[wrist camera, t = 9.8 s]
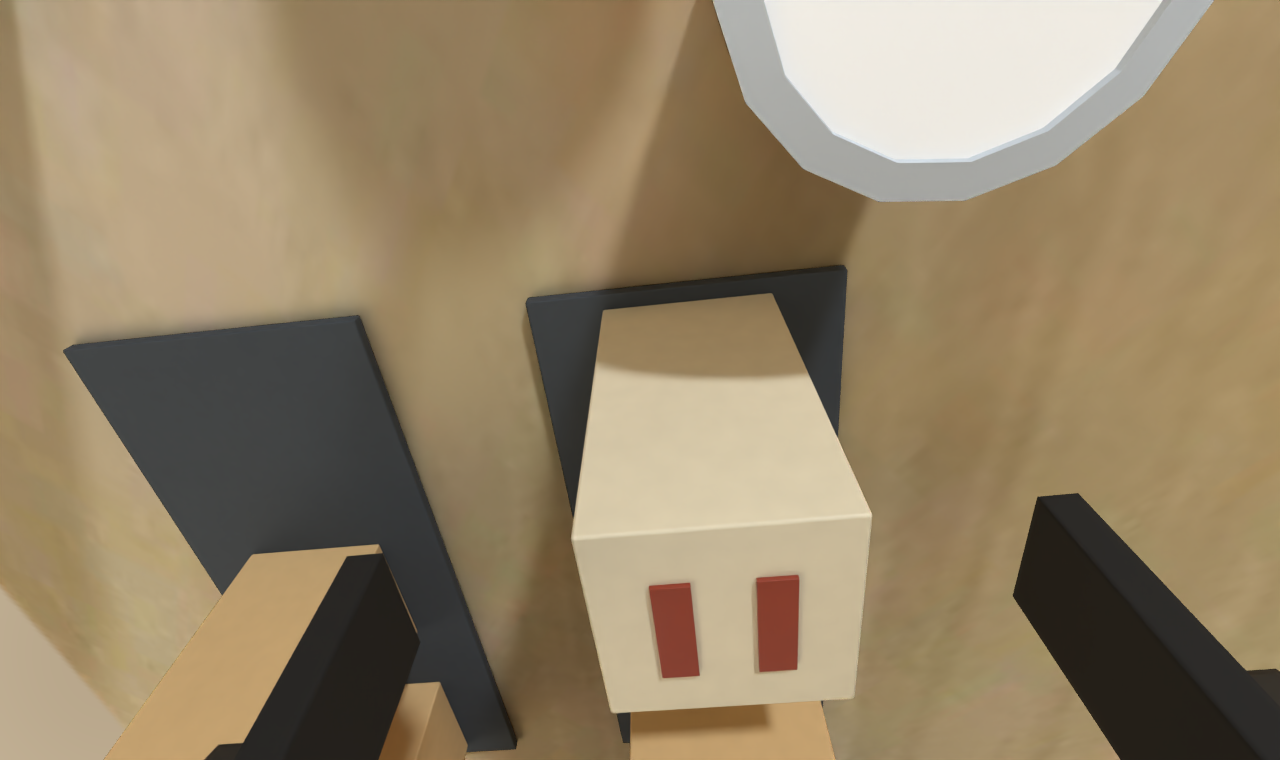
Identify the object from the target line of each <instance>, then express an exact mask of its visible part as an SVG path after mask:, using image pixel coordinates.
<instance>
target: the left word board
mask: <svg viewBox="0 0 1280 760" xmlns="http://www.w3.org/2000/svg"><path fill="white" fill-rule="evenodd" d="M63 352H64V354H65V355H66V357H67V358H68V360H69V361H70V363H71V364H72V366H73V367H74V369H75V370H76V372H77V374H78V375H79V377H80V378H81V380H82V381H83V383H84V384H85V386H86V387H87V389H88V390H89V392H90V393H91V395H92V397H93V398H94V400H95V401H96V403H97V404H98V406H99V407H100V409H101V410H102V412H103V413H104V415H105V416H106V418H107V420H108V421H109V423H110V424H111V426H112V427H113V429H114V430H115V432H116V433H117V435H118V436H119V438H120V439H121V441H122V443H123V444H124V446H125V447H126V449H127V450H128V452H129V453H130V455H131V456H132V458H133V459H134V461H135V462H136V464H137V466H138V467H139V469H140V470H141V472H142V473H143V475H144V476H145V478H146V479H147V481H148V482H149V484H150V485H151V487H152V488H153V490H154V492H155V493H156V495H157V496H158V498H159V499H160V501H161V502H162V504H163V505H164V507H165V508H166V510H167V511H168V513H169V515H170V516H171V518H172V519H173V521H174V522H175V524H176V525H177V527H178V528H179V530H180V531H181V533H182V534H183V536H184V538H185V539H186V541H187V542H188V544H189V545H190V547H191V548H192V550H193V551H194V553H195V554H196V556H197V557H198V559H199V561H200V562H201V564H202V565H203V567H204V568H205V570H206V571H207V573H208V574H209V576H210V577H211V579H212V580H213V582H214V584H215V585H216V587H217V588H218V590H219V591H220V593H221V594H222V597H221V598H220V599H219V601H218V602H217V604H216V605H215V606H214V608H213V609H212V611H211V612H210V613H209V615H208V616H207V617H206V619H205V620H204V622H203V623H202V624H201V626H200V627H199V628H198V630H197V631H196V633H195V634H194V635H193V637H192V638H191V640H190V641H189V642H188V644H187V645H186V646H185V648H184V649H183V651H182V652H181V653H180V655H179V656H178V658H177V659H176V660H175V662H174V663H173V664H172V666H171V667H170V669H169V670H168V671H167V673H166V674H165V675H164V677H163V678H162V680H161V681H160V682H159V684H158V685H157V687H156V688H155V689H154V691H153V692H152V693H151V695H150V696H149V698H148V699H147V700H146V702H145V703H144V704H143V706H142V707H141V709H140V710H139V711H138V713H137V714H136V716H135V717H134V718H133V720H132V721H131V722H130V724H129V725H128V727H127V728H126V729H125V731H124V732H123V733H122V735H121V736H120V738H119V739H118V740H117V742H116V743H115V745H114V746H113V747H112V749H111V750H110V752H109V753H108V754H107V756H106V757H105V758H104V760H204V759H205V758H206V757H207V756H208V755H209V754H210V753H211V752H212V751H213V750H214V749H215V748H216V747H217V745H219V744H233V743H243V742H244V740H245V738H246V737H247V735H248V733H249V731H250V729H251V728H252V726H253V724H254V722H255V720H256V719H257V717H258V715H259V713H260V711H261V710H262V708H263V706H264V704H265V702H266V701H267V699H268V697H269V695H270V693H271V692H272V690H273V688H274V686H275V685H276V683H277V681H278V679H279V677H280V676H281V674H282V672H283V670H284V668H285V667H286V665H287V663H288V661H289V659H290V658H291V656H292V654H293V652H294V650H295V649H296V647H297V645H298V643H299V641H300V640H301V638H302V636H303V634H304V632H305V631H306V629H307V627H308V625H309V623H310V622H311V620H312V618H313V616H314V614H315V613H316V611H317V609H318V607H319V605H320V604H321V602H322V600H323V598H324V596H325V595H326V593H327V591H328V589H329V587H330V586H331V584H332V582H333V580H334V578H335V577H336V575H337V573H338V571H339V569H340V568H341V566H342V564H343V562H344V560H345V559H346V557H347V556H355V555H366V554H378V553H383V555H384V557H385V559H386V562H387V564H388V566H389V569H390V571H391V574H392V576H393V578H394V581H395V583H396V585H397V588H398V590H399V592H400V595H401V597H402V599H403V602H404V604H405V607H406V609H407V611H408V614H409V616H410V618H411V621H412V623H413V625H414V628H415V630H416V633H417V635H418V637H419V640H420V645H419V648H418V651H417V653H416V656H415V659H414V662H413V665H412V667H411V670H410V673H409V676H408V679H407V681H406V684H405V687H404V690H403V693H402V695H401V698H400V701H399V704H398V707H397V709H396V712H395V715H394V718H393V720H392V723H391V726H390V729H389V732H388V734H387V737H386V740H385V743H384V746H383V748H382V751H381V754H380V757H379V760H464V759H465V755H466V752H477V751H494V750H511V749H516V746H517V739H516V737H515V734H514V731H513V729H512V726H511V723H510V720H509V718H508V715H507V712H506V710H505V707H504V704H503V702H502V699H501V696H500V694H499V691H498V688H497V685H496V683H495V680H494V677H493V675H492V672H491V669H490V667H489V664H488V661H487V658H486V656H485V653H484V650H483V648H482V645H481V642H480V640H479V637H478V634H477V632H476V629H475V626H474V623H473V621H472V618H471V615H470V613H469V610H468V607H467V605H466V602H465V599H464V596H463V594H462V591H461V588H460V586H459V583H458V580H457V578H456V575H455V572H454V570H453V567H452V564H451V561H450V559H449V556H448V553H447V551H446V548H445V545H444V543H443V540H442V537H441V534H440V532H439V529H438V526H437V524H436V521H435V518H434V516H433V513H432V510H431V508H430V505H429V502H428V499H427V497H426V494H425V491H424V489H423V486H422V483H421V481H420V478H419V475H418V472H417V470H416V467H415V464H414V462H413V459H412V456H411V454H410V451H409V448H408V446H407V443H406V440H405V437H404V435H403V432H402V429H401V427H400V424H399V421H398V419H397V416H396V413H395V410H394V408H393V405H392V402H391V400H390V397H389V394H388V392H387V389H386V386H385V384H384V381H383V378H382V375H381V373H380V370H379V367H378V365H377V362H376V359H375V357H374V354H373V351H372V348H371V346H370V343H369V340H368V338H367V335H366V332H365V330H364V327H363V324H362V322H361V319H360V316H358V315H357V316H348V317H338V318H328V319H319V320H309V321H300V322H290V323H280V324H271V325H261V326H251V327H242V328H232V329H222V330H213V331H203V332H193V333H184V334H174V335H164V336H155V337H145V338H136V339H126V340H116V341H107V342H97V343H87V344H78V345H72V346H70V347H68V348H66V349H65V350H63Z"/></svg>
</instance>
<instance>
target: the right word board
mask: <svg viewBox="0 0 1280 760" xmlns="http://www.w3.org/2000/svg"><path fill="white" fill-rule="evenodd" d="M846 285H847V269H846V268H845V266H844V265H840V266H830V267H820V268H811V269H801V270H791V271H782V272H772V273H763V274H753V275H743V276H734V277H724V278H714V279H705V280H695V281H685V282H676V283H666V284H656V285H647V286H637V287H628V288H618V289H608V290H599V291H589V292H579V293H570V294H560V295H550V296H541V297H531V298H528V299H527V301H526V308H527V312H528V317H529V321H530V326H531V330H532V335H533V339H534V344H535V348H536V353H537V357H538V362H539V366H540V371H541V375H542V380H543V384H544V389H545V393H546V398H547V402H548V407H549V411H550V416H551V420H552V425H553V429H554V434H555V438H556V443H557V447H558V452H559V456H560V461H561V465H562V470H563V474H564V479H565V483H566V488H567V492H568V497H569V501H570V506H571V510H572V515H573V519H574V512H575V505H576V498H577V491H578V484H579V477H580V470H581V463H582V456H583V448H584V441H585V434H586V427H587V420H588V413H589V406H590V399H591V392H592V384H593V377H594V370H595V363H596V356H597V349H598V342H599V335H600V328H601V320H602V313H603V311H604V310H609V309H619V308H629V307H639V306H649V305H658V304H668V303H678V302H688V301H698V300H708V299H718V298H727V297H737V296H747V295H757V294H767V293H772V294H773V296H774V299H775V301H776V303H777V305H778V307H779V310H780V312H781V314H782V316H783V318H784V321H785V323H786V325H787V327H788V329H789V332H790V334H791V336H792V338H793V341H794V343H795V345H796V347H797V349H798V352H799V354H800V356H801V358H802V360H803V363H804V365H805V367H806V369H807V372H808V374H809V376H810V378H811V380H812V383H813V385H814V387H815V389H816V391H817V394H818V396H819V398H820V400H821V402H822V405H823V407H824V409H825V411H826V414H827V416H828V418H829V420H830V422H831V425H832V427H833V429H834V431H835V433H836V436H837V438H838V426H839V408H840V391H841V373H842V355H843V338H844V320H845V302H846ZM617 717H618V722H619V726H620V731H621V735H622V740H623V743H630V760H835V756H834V752H833V748H832V744H831V740H830V736H829V732H828V728H827V725H826V721H825V717H824V713H823V701H808V702H791V703H775V704H758V705H742V706H725V707H709V708H693V709H676V710H660V711H643V712H627V713H617Z"/></svg>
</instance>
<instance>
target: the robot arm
mask: <svg viewBox="0 0 1280 760" xmlns="http://www.w3.org/2000/svg"><path fill="white" fill-rule="evenodd" d="M1013 597H1014V599H1015V600H1016V602H1017V603H1018V605H1019V606H1020V608H1021V609H1022V611H1023V612H1024V614H1025V615H1026V617H1027V618H1028V620H1029V621H1030V623H1031V625H1032V626H1033V628H1034V629H1035V631H1036V632H1037V634H1038V635H1039V637H1040V638H1041V640H1042V641H1043V643H1044V644H1045V646H1046V647H1047V649H1048V650H1049V652H1050V653H1051V655H1052V656H1053V658H1054V659H1055V661H1056V662H1057V664H1058V665H1059V667H1060V669H1061V670H1062V672H1063V673H1064V675H1065V676H1066V678H1067V679H1068V681H1069V682H1070V684H1071V685H1072V687H1073V688H1074V690H1075V691H1076V693H1077V694H1078V696H1079V697H1080V699H1081V700H1082V702H1083V703H1084V705H1085V706H1086V708H1087V709H1088V711H1089V713H1090V714H1091V716H1092V717H1093V719H1094V720H1095V722H1096V723H1097V725H1098V726H1099V728H1100V729H1101V731H1102V732H1103V734H1104V735H1105V737H1106V738H1107V740H1108V741H1109V743H1110V744H1111V746H1112V747H1113V749H1114V750H1115V752H1116V753H1117V755H1118V756H1119V758H1120V760H1280V671H1278V670H1276V669H1266V670H1252V671H1246V670H1245V669H1244V668H1243V667H1242V666H1241V665H1240V664H1239V663H1238V662H1237V661H1236V660H1235V659H1234V658H1233V656H1232V655H1231V654H1230V653H1229V652H1228V651H1227V650H1226V649H1225V648H1224V647H1223V646H1222V645H1221V644H1220V643H1219V642H1218V641H1217V640H1216V638H1215V637H1214V636H1213V635H1212V634H1211V633H1210V632H1209V631H1208V630H1207V629H1206V628H1205V627H1204V626H1203V625H1202V624H1201V623H1200V622H1199V621H1198V619H1197V618H1196V617H1195V616H1194V615H1193V614H1192V613H1191V612H1190V611H1189V610H1188V609H1187V608H1186V607H1185V606H1184V605H1183V604H1182V603H1181V601H1180V600H1179V599H1178V598H1177V597H1176V596H1175V595H1174V594H1173V593H1172V592H1171V591H1170V590H1169V589H1168V588H1167V587H1166V586H1165V585H1164V584H1163V582H1162V581H1161V580H1160V579H1159V578H1158V577H1157V576H1156V575H1155V574H1154V573H1153V572H1152V571H1151V570H1150V569H1149V568H1148V567H1147V566H1146V565H1145V563H1144V562H1143V561H1142V560H1141V559H1140V558H1139V557H1138V556H1137V555H1136V554H1135V553H1134V552H1133V551H1132V550H1131V549H1130V548H1129V547H1128V545H1127V544H1126V543H1125V542H1124V541H1123V540H1122V539H1121V538H1120V537H1119V536H1118V535H1117V534H1116V533H1115V532H1114V531H1113V530H1112V529H1111V528H1110V526H1109V525H1108V524H1107V523H1106V522H1105V521H1104V520H1103V519H1102V518H1101V517H1100V516H1099V515H1098V514H1097V513H1096V512H1095V511H1094V510H1093V509H1092V507H1091V506H1090V505H1089V504H1088V503H1087V502H1086V501H1085V500H1084V499H1083V498H1082V497H1081V496H1080V495H1079V494H1078V493H1076V494H1064V495H1052V496H1041V497H1037V501H1036V505H1035V509H1034V513H1033V517H1032V521H1031V525H1030V529H1029V533H1028V537H1027V541H1026V545H1025V549H1024V553H1023V557H1022V561H1021V565H1020V569H1019V573H1018V577H1017V581H1016V585H1015V589H1014V593H1013ZM419 645H420V640H419V637H418V635H417V633H416V630H415V628H414V625H413V623H412V621H411V618H410V616H409V614H408V611H407V609H406V607H405V604H404V602H403V599H402V597H401V595H400V592H399V590H398V588H397V585H396V583H395V581H394V578H393V576H392V574H391V571H390V569H389V566H388V564H387V562H386V559H385V557H384V555H383V553H378V554H366V555H355V556H347V557H346V559H345V560H344V562H343V564H342V566H341V568H340V569H339V571H338V573H337V575H336V577H335V578H334V580H333V582H332V584H331V586H330V587H329V589H328V591H327V593H326V595H325V596H324V598H323V600H322V602H321V604H320V605H319V607H318V609H317V611H316V613H315V614H314V616H313V618H312V620H311V622H310V623H309V625H308V627H307V629H306V631H305V632H304V634H303V636H302V638H301V640H300V641H299V643H298V645H297V647H296V649H295V650H294V652H293V654H292V656H291V658H290V659H289V661H288V663H287V665H286V667H285V668H284V670H283V672H282V674H281V676H280V677H279V679H278V681H277V683H276V685H275V686H274V688H273V690H272V692H271V693H270V695H269V697H268V699H267V701H266V702H265V704H264V706H263V708H262V710H261V711H260V713H259V715H258V717H257V719H256V720H255V722H254V724H253V726H252V728H251V729H250V731H249V733H248V735H247V737H246V738H245V740H244V742H243V743H233V744H219V745H217V747H216V748H215V749H214V750H213V751H212V752H211V753H210V754H209V755H208V756H207V757H206V758H205V759H204V760H379V757H380V754H381V751H382V748H383V746H384V743H385V740H386V737H387V734H388V732H389V729H390V726H391V723H392V720H393V718H394V715H395V712H396V709H397V707H398V704H399V701H400V698H401V695H402V693H403V690H404V687H405V684H406V681H407V679H408V676H409V673H410V670H411V667H412V665H413V662H414V659H415V656H416V653H417V651H418V648H419Z"/></svg>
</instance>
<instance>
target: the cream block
mask: <svg viewBox="0 0 1280 760" xmlns="http://www.w3.org/2000/svg"><path fill="white" fill-rule="evenodd" d="M871 524H872V513H871V511H870V509H869V506H868V504H867V502H866V500H865V498H864V495H863V493H862V491H861V489H860V487H859V484H858V482H857V480H856V478H855V475H854V473H853V471H852V469H851V467H850V464H849V462H848V460H847V458H846V456H845V453H844V451H843V449H842V447H841V445H840V442H839V440H838V438H837V436H836V433H835V431H834V429H833V427H832V425H831V422H830V420H829V418H828V416H827V414H826V411H825V409H824V407H823V405H822V402H821V400H820V398H819V396H818V394H817V391H816V389H815V387H814V385H813V383H812V380H811V378H810V376H809V374H808V372H807V369H806V367H805V365H804V363H803V360H802V358H801V356H800V354H799V352H798V349H797V347H796V345H795V343H794V341H793V338H792V336H791V334H790V332H789V329H788V327H787V325H786V323H785V321H784V318H783V316H782V314H781V312H780V310H779V307H778V305H777V303H776V301H775V299H774V296H773V294H772V293H767V294H757V295H747V296H737V297H727V298H718V299H708V300H698V301H688V302H678V303H668V304H658V305H649V306H639V307H629V308H619V309H609V310H604V311H603V313H602V320H601V328H600V335H599V342H598V349H597V356H596V363H595V370H594V377H593V384H592V392H591V399H590V406H589V413H588V420H587V427H586V434H585V441H584V448H583V456H582V463H581V470H580V477H579V484H578V491H577V498H576V505H575V512H574V520H573V527H572V534H571V542H572V546H573V551H574V555H575V559H576V564H577V568H578V572H579V577H580V581H581V585H582V590H583V594H584V598H585V603H586V607H587V611H588V616H589V620H590V624H591V629H592V633H593V638H594V642H595V646H596V651H597V655H598V659H599V664H600V668H601V672H602V677H603V681H604V685H605V690H606V694H607V698H608V703H609V707H610V711H611V712H612V713H627V712H643V711H660V710H676V709H693V708H709V707H725V706H742V705H758V704H775V703H791V702H808V701H824V700H840V699H852V698H854V696H855V687H856V677H857V666H858V656H859V646H860V636H861V626H862V616H863V605H864V595H865V585H866V575H867V565H868V554H869V544H870V534H871Z"/></svg>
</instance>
